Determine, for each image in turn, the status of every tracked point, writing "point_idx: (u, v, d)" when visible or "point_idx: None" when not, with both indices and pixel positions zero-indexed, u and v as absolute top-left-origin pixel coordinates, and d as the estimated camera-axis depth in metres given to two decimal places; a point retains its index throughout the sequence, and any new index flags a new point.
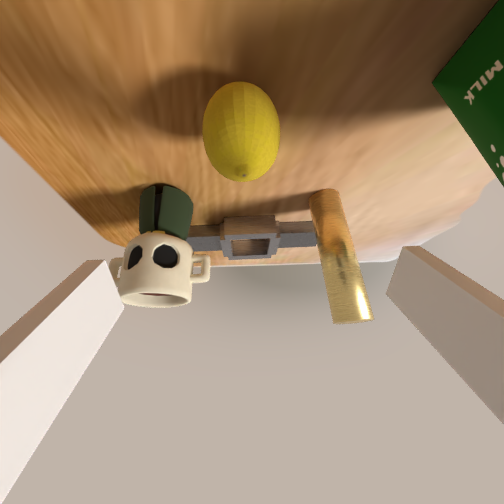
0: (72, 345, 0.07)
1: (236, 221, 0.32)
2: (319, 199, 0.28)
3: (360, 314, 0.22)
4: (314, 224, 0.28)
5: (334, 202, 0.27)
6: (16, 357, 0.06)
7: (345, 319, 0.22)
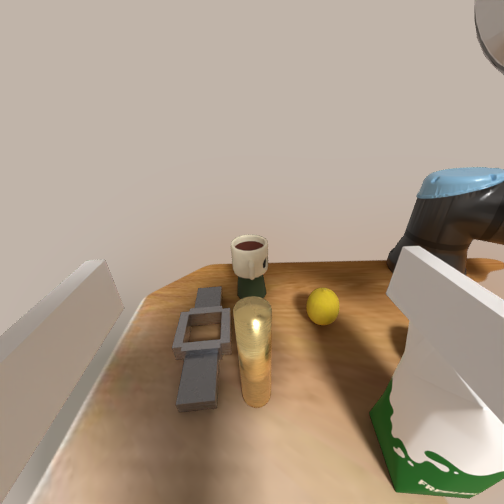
0: (72, 345, 0.07)
1: None
2: None
3: None
4: None
5: None
6: (16, 357, 0.06)
7: (263, 299, 0.24)
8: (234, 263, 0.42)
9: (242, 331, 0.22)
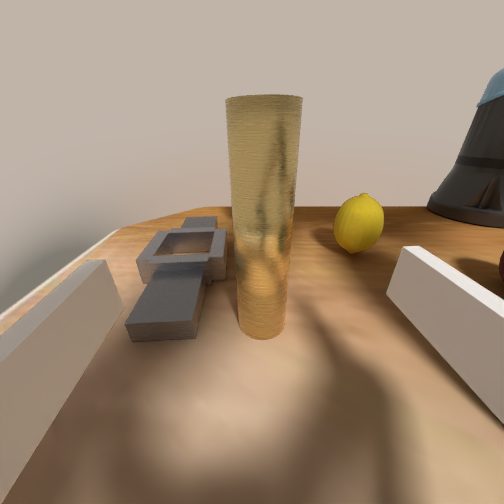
0: (72, 345, 0.07)
1: None
2: None
3: None
4: None
5: None
6: (16, 357, 0.06)
7: None
8: None
9: (241, 129, 0.11)
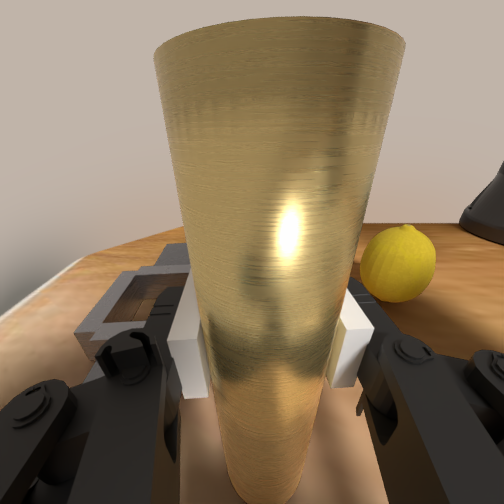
0: None
1: None
2: None
3: None
4: None
5: None
6: None
7: None
8: None
9: (201, 158, 0.03)
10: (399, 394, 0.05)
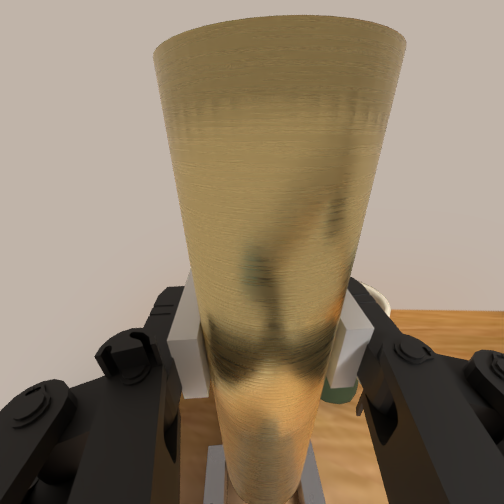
0: None
1: None
2: None
3: None
4: None
5: None
6: None
7: None
8: None
9: (201, 158, 0.03)
10: (399, 394, 0.05)
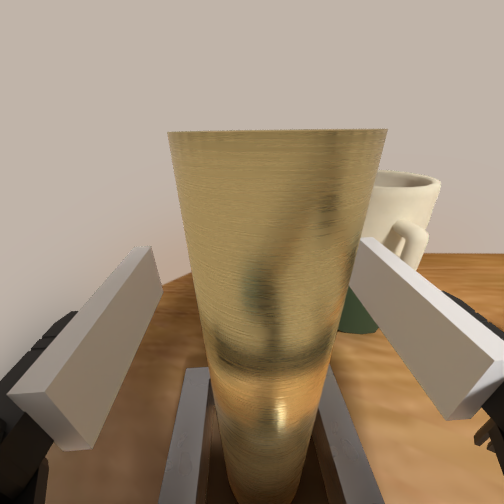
0: (133, 318, 0.08)
1: None
2: None
3: None
4: None
5: None
6: (102, 321, 0.07)
7: None
8: None
9: (210, 224, 0.04)
10: None
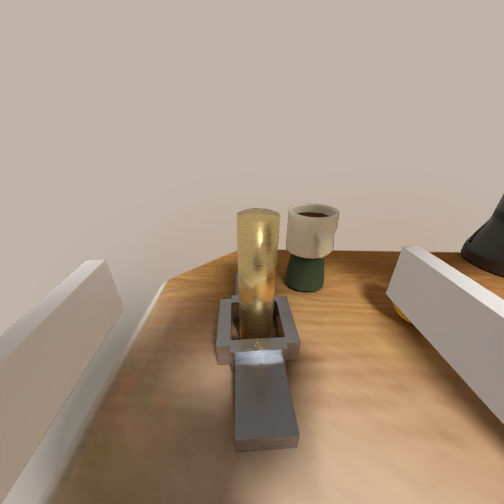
0: (72, 345, 0.07)
1: None
2: None
3: None
4: None
5: None
6: (16, 357, 0.06)
7: None
8: (292, 237, 0.32)
9: (246, 235, 0.20)
10: None
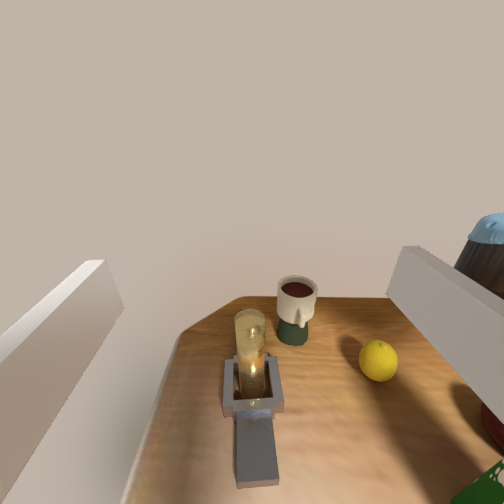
0: (72, 345, 0.07)
1: None
2: None
3: (264, 319, 0.30)
4: None
5: None
6: (16, 357, 0.06)
7: (259, 311, 0.31)
8: (281, 307, 0.40)
9: (241, 336, 0.28)
10: None
